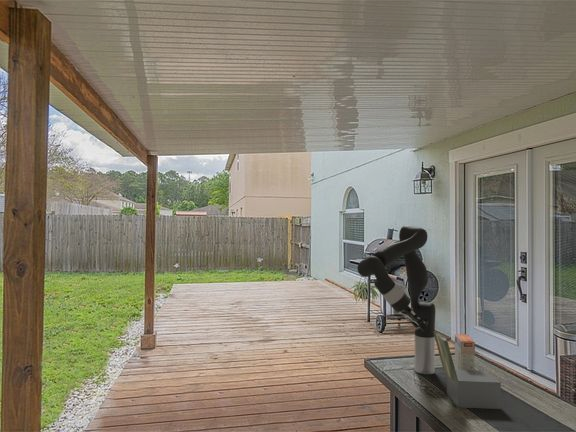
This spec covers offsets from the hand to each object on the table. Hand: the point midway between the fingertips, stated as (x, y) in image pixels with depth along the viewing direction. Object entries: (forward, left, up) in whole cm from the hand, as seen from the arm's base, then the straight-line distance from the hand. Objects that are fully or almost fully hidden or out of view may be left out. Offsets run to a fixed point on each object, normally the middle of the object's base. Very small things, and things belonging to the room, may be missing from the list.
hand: (422, 328), depth 171 cm
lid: (-1, +10, -11) cm, 15 cm away
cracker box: (-19, +23, -28) cm, 41 cm away
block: (-1, +20, -28) cm, 35 cm away
